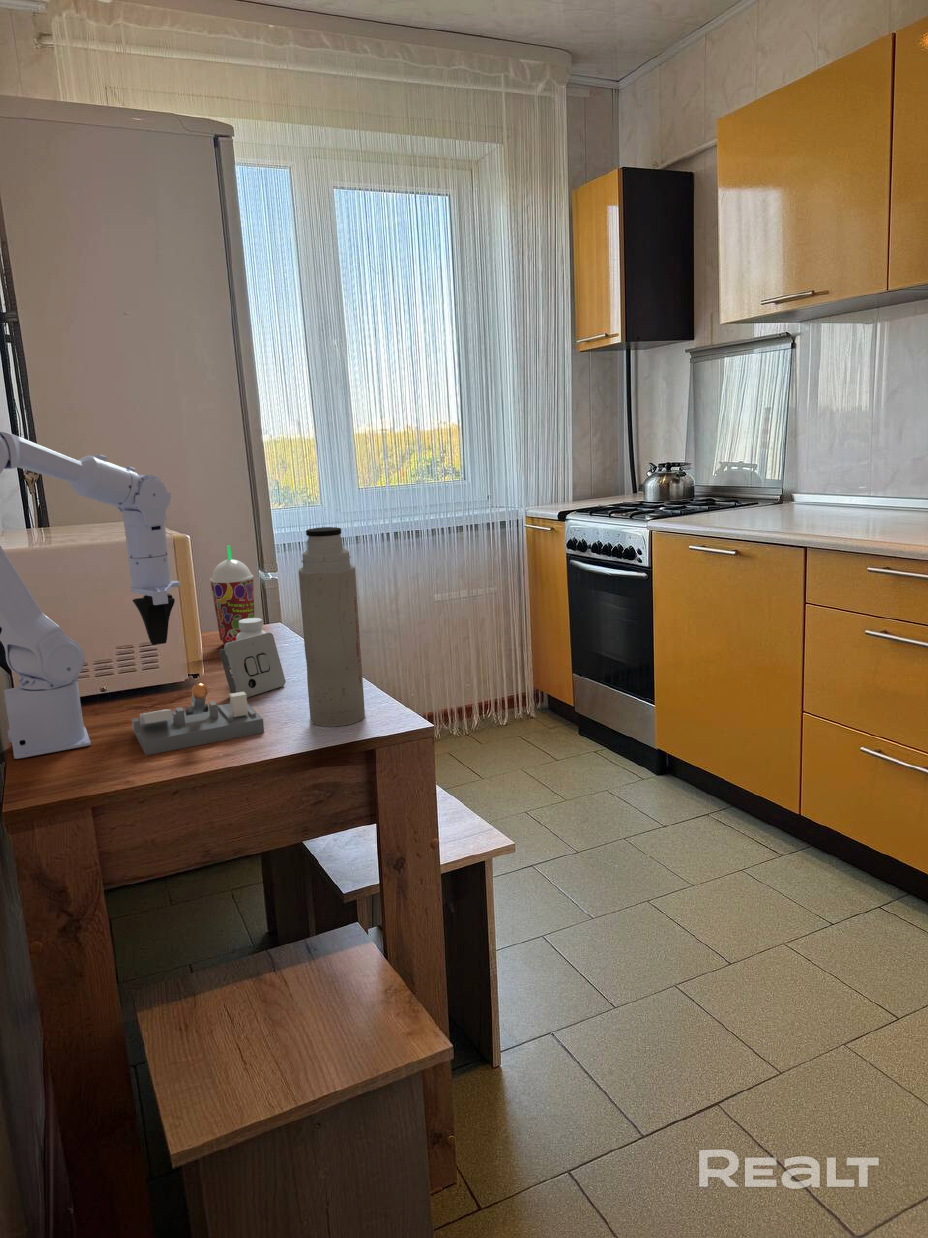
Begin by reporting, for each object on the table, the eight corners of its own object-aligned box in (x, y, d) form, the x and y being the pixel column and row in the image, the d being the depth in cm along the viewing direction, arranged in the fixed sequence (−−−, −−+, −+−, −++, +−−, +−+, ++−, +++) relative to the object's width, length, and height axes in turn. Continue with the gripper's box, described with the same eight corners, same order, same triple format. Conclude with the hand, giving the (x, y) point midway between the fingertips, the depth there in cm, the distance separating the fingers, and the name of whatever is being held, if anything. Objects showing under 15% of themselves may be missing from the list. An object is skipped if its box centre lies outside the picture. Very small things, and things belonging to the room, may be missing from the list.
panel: (141, 756, 116) (137, 727, 115) (130, 734, 124) (127, 708, 124) (264, 732, 123) (261, 705, 122) (246, 713, 132) (243, 687, 131)
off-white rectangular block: (234, 717, 123) (232, 696, 122) (231, 714, 125) (229, 694, 124) (248, 714, 124) (246, 694, 123) (245, 711, 125) (243, 691, 125)
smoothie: (237, 651, 170) (227, 549, 165) (207, 646, 174) (197, 547, 170) (268, 641, 177) (259, 543, 172) (239, 637, 181) (230, 541, 177)
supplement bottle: (239, 679, 150) (233, 624, 148) (239, 671, 155) (234, 618, 153) (271, 676, 151) (266, 622, 149) (270, 668, 156) (265, 615, 154)
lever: (187, 720, 123) (191, 696, 117) (183, 706, 124) (187, 682, 118) (208, 716, 124) (213, 692, 118) (205, 702, 125) (210, 678, 119)
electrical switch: (241, 701, 138) (232, 644, 137) (221, 699, 142) (213, 643, 140) (287, 686, 145) (279, 632, 144) (267, 684, 149) (259, 631, 147)
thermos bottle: (366, 707, 132) (353, 523, 126) (363, 725, 125) (350, 529, 119) (313, 710, 132) (298, 526, 126) (307, 728, 124) (291, 532, 118)
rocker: (145, 723, 117) (144, 713, 117) (140, 722, 122) (139, 713, 122) (173, 718, 119) (171, 708, 119) (167, 717, 124) (165, 708, 124)
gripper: (184, 558, 126) (194, 649, 129) (167, 547, 139) (176, 630, 142) (133, 563, 123) (145, 656, 126) (120, 552, 136) (131, 637, 139)
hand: (158, 643), depth 134 cm, fingers closed
